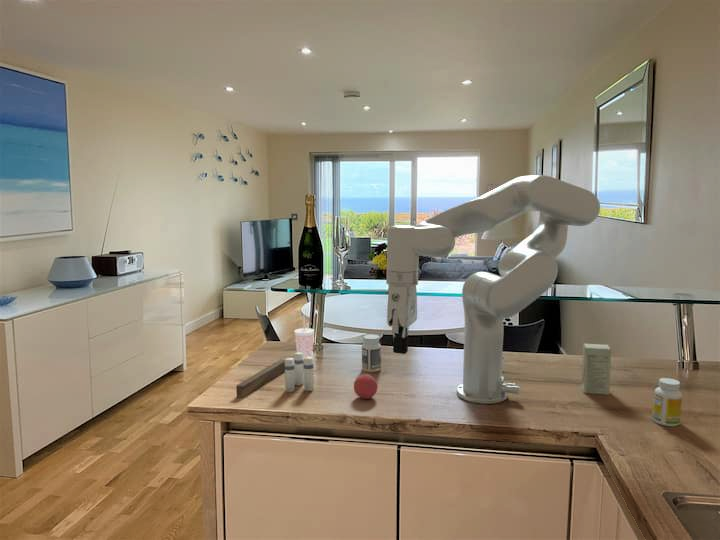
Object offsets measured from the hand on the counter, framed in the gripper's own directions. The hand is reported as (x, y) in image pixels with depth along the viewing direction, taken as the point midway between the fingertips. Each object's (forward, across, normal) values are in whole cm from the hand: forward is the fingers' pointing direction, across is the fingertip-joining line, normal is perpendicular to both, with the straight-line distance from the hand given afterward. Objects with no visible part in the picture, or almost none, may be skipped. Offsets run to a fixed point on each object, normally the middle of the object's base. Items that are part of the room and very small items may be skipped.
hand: (400, 352), depth 125 cm
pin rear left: (+13, -2, +29) cm, 32 cm away
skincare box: (+12, +26, -45) cm, 53 cm away
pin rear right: (+13, +3, +29) cm, 32 cm away
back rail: (+14, 0, +39) cm, 41 cm away
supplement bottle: (+12, +12, -59) cm, 62 cm away
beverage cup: (+14, +23, +38) cm, 46 cm away
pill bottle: (+13, +21, +15) cm, 29 cm away
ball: (+10, 0, +9) cm, 14 cm away
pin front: (+13, 0, +25) cm, 28 cm away
